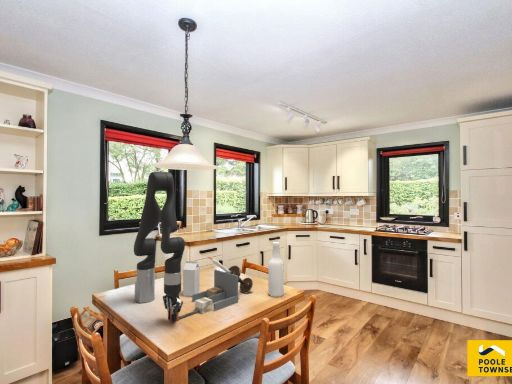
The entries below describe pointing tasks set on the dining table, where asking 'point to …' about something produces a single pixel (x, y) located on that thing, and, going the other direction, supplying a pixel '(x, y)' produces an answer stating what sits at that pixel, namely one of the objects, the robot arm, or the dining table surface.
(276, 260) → the alcohol
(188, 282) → the milk carton
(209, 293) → the walnut block
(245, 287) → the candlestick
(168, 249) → the robot arm
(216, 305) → the lane rack
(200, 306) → the corded block
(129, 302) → the dining table surface
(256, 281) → the dining table surface
